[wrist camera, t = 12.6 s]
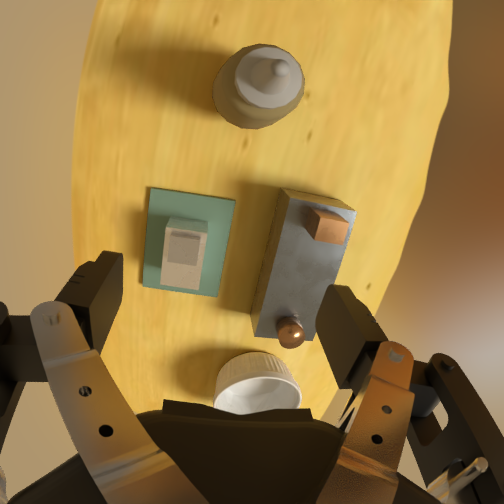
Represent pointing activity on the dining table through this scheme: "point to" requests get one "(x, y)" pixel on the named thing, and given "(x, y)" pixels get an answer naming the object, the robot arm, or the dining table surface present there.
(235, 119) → the squeeze bottle
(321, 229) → the plane body
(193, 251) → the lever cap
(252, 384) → the ramekin
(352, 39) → the dining table surface
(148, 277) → the mat
